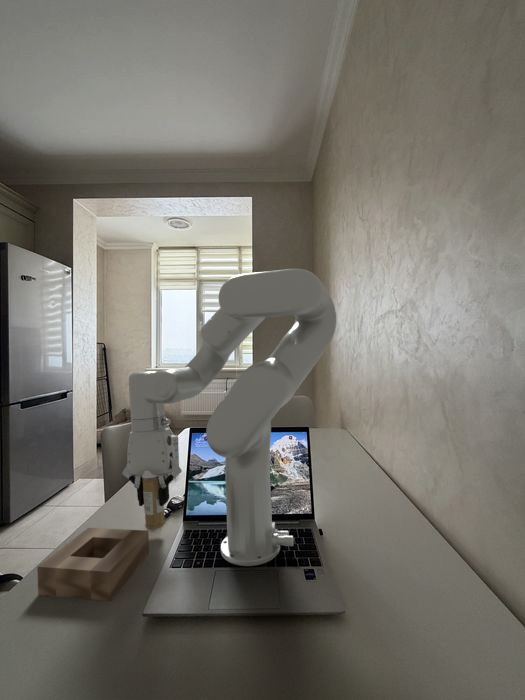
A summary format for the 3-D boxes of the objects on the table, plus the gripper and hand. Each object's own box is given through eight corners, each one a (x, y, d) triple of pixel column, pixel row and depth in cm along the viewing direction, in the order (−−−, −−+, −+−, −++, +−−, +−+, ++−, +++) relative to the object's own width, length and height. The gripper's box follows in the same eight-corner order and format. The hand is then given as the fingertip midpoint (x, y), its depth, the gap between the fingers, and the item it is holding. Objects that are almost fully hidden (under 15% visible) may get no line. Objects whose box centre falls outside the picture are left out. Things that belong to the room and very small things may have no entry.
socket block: (149, 554, 74) (148, 530, 74) (110, 601, 61) (109, 571, 61) (89, 550, 77) (88, 527, 77) (38, 594, 63) (37, 566, 63)
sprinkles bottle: (168, 525, 81) (164, 466, 81) (148, 532, 78) (144, 471, 79) (161, 518, 85) (158, 462, 85) (142, 524, 82) (138, 466, 82)
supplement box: (150, 471, 128) (149, 436, 128) (168, 466, 133) (167, 432, 133) (162, 475, 123) (161, 439, 123) (180, 470, 128) (178, 435, 128)
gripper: (189, 420, 84) (194, 496, 84) (124, 422, 87) (129, 497, 87) (176, 426, 77) (182, 510, 76) (105, 429, 80) (111, 510, 79)
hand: (153, 502), depth 82 cm, fingers closed on sprinkles bottle, 4 cm apart
